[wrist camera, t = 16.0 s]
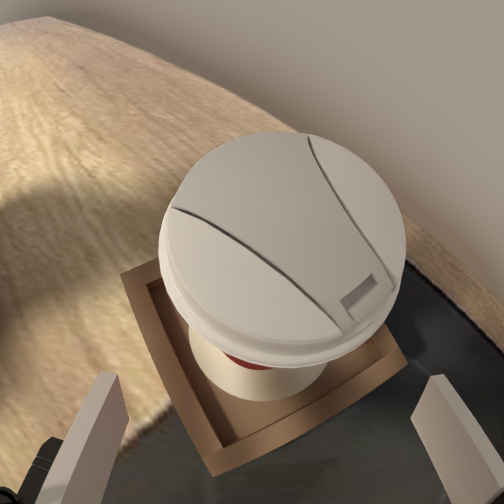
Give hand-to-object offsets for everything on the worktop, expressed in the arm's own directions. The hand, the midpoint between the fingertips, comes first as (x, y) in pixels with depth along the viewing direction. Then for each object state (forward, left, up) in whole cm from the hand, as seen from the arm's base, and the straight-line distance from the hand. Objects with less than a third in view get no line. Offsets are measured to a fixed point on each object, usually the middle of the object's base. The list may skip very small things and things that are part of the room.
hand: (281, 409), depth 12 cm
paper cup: (+2, +5, -8) cm, 10 cm away
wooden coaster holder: (+2, +5, -11) cm, 12 cm away
